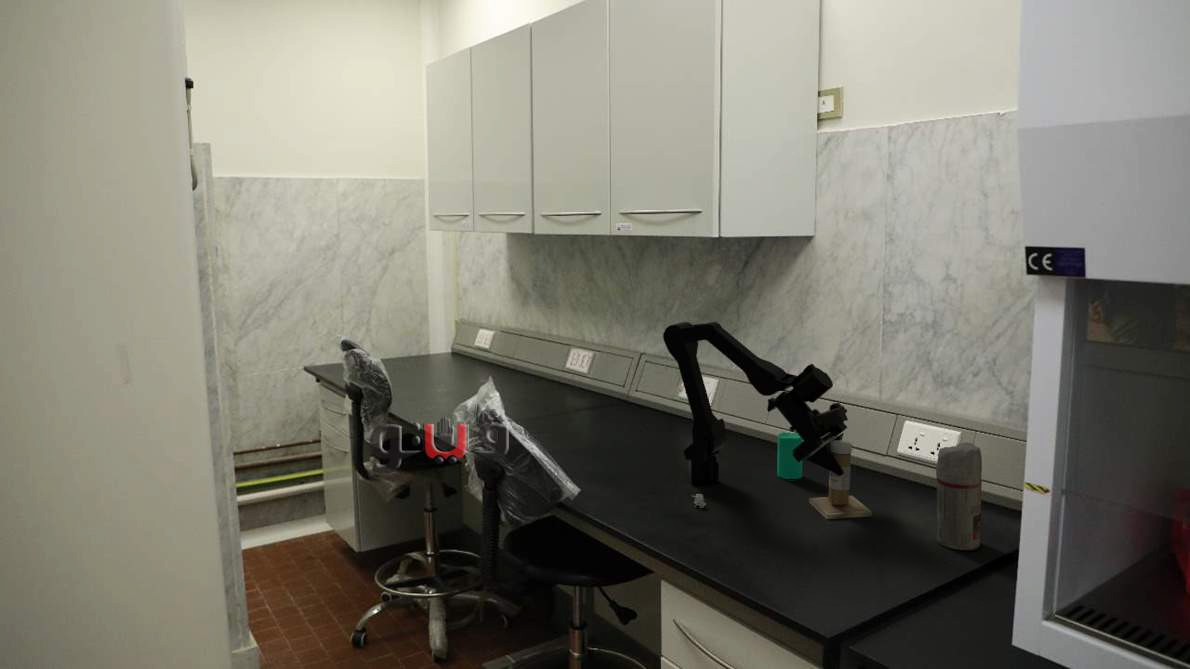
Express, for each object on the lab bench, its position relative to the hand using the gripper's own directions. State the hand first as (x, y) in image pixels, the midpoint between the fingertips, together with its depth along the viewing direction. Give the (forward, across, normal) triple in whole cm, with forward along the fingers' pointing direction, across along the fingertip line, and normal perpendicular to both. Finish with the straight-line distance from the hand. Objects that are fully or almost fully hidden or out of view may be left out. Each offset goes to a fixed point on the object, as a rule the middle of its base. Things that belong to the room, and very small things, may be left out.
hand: (846, 471), depth 175 cm
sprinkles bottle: (+4, 0, +6) cm, 7 cm away
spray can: (+23, -5, -11) cm, 26 cm away
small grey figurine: (-13, -17, +26) cm, 34 cm away
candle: (-7, +15, +20) cm, 26 cm away
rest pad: (+5, 0, +7) cm, 9 cm away
